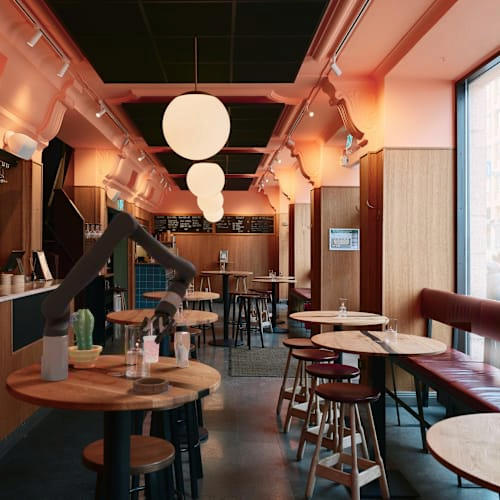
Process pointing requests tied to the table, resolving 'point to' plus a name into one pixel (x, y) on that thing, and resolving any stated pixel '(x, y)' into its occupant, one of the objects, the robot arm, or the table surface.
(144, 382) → the bowl
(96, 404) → the table surface
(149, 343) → the beverage cup
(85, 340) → the potted cactus
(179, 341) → the beer glass
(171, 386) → the mat
